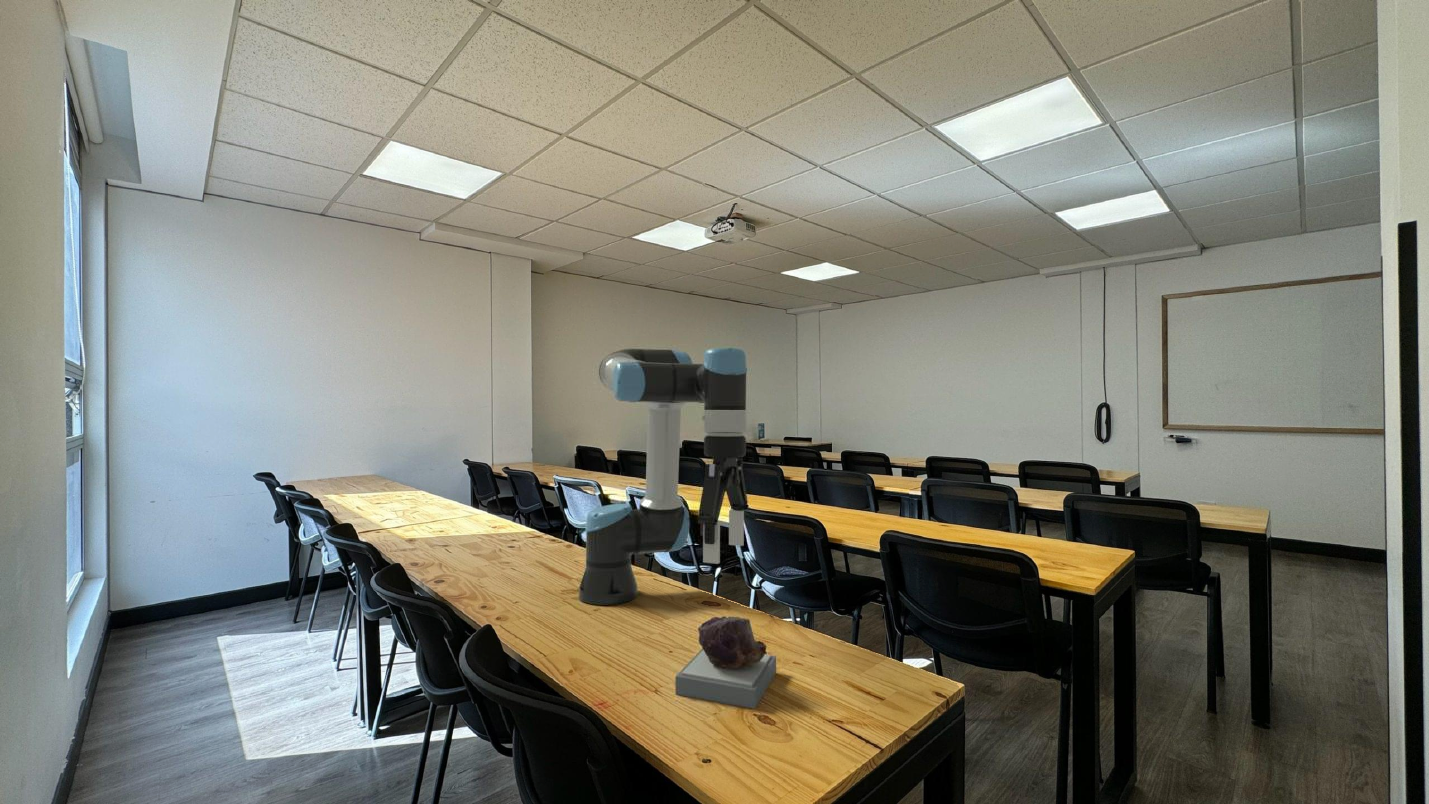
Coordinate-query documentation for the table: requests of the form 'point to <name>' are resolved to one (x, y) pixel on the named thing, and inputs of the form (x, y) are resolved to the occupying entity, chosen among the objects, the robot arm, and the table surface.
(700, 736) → the table surface
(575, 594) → the table surface
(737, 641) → the rock
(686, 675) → the grey flat square block
